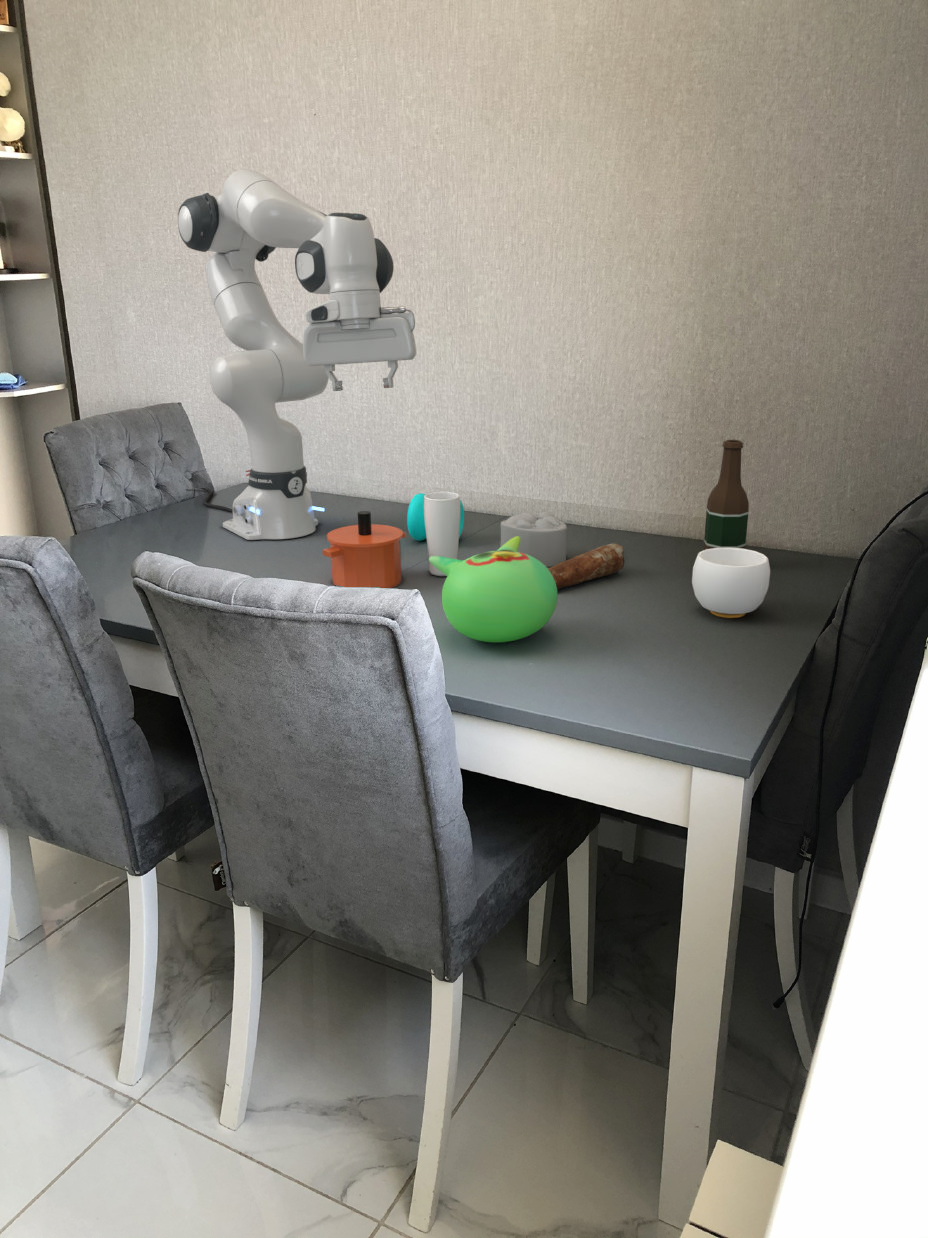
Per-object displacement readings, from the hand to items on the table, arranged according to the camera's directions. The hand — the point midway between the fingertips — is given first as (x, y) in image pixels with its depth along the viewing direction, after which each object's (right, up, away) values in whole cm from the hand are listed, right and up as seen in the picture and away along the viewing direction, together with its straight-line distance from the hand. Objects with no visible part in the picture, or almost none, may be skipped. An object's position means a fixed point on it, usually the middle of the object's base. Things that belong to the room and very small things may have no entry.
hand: (363, 389), depth 175 cm
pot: (0, -35, +4) cm, 35 cm away
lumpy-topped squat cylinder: (+33, -30, +17) cm, 47 cm away
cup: (+62, -41, -14) cm, 76 cm away
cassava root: (+40, -35, +2) cm, 53 cm away
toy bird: (+24, -45, -23) cm, 56 cm away
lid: (0, -27, +1) cm, 27 cm away
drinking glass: (+14, -33, +8) cm, 37 cm away
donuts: (+12, -25, +30) cm, 41 cm away
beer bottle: (+68, -32, +11) cm, 76 cm away
